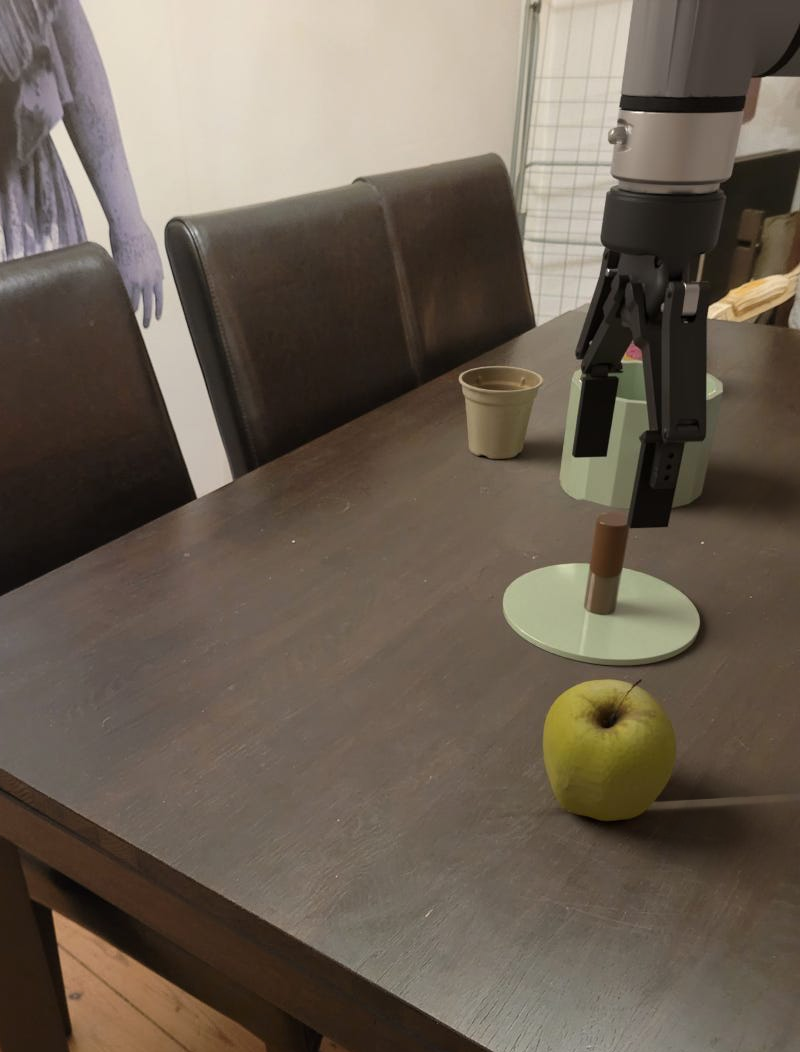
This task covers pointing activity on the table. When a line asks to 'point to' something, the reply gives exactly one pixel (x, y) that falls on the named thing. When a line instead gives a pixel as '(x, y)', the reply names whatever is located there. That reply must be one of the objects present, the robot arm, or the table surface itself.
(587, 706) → the apple
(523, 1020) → the table surface
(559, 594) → the pot lid
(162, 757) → the table surface
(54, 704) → the table surface
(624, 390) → the pot
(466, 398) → the flower pot
